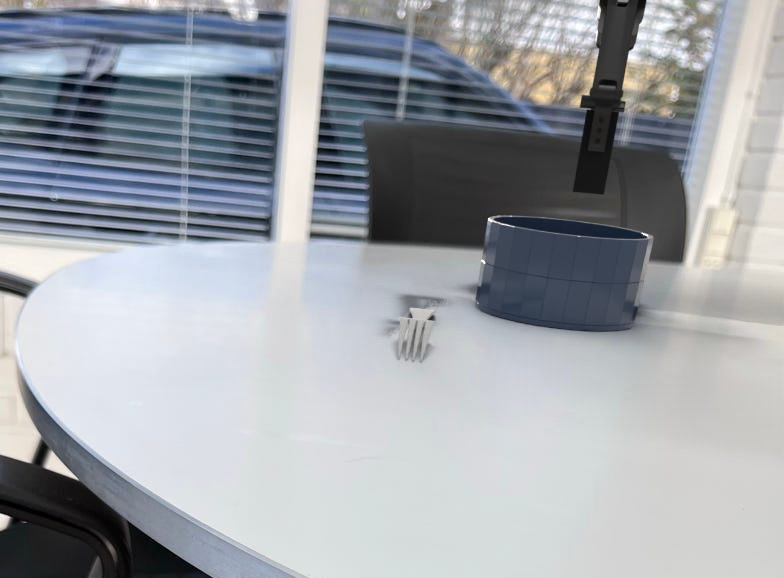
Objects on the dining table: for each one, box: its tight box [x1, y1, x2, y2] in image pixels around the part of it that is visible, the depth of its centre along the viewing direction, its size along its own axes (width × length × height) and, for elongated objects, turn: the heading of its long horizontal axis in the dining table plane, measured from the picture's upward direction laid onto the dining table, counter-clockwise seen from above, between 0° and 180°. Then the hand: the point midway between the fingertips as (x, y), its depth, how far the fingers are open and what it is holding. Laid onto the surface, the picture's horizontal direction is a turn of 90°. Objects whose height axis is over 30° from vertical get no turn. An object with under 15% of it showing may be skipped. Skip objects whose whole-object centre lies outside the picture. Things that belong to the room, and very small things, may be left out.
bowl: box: [474, 215, 655, 332], centre depth 102 cm, size 15×15×8 cm
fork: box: [397, 307, 437, 363], centre depth 89 cm, size 3×21×3 cm, turn 172°
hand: (589, 189), depth 99 cm, fingers open, 13 cm apart
